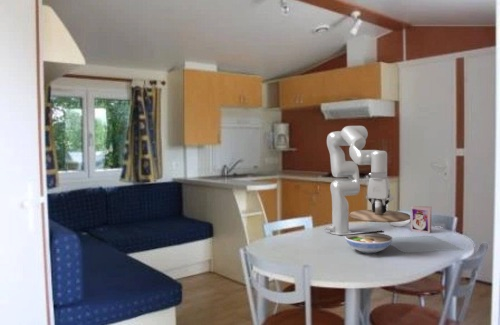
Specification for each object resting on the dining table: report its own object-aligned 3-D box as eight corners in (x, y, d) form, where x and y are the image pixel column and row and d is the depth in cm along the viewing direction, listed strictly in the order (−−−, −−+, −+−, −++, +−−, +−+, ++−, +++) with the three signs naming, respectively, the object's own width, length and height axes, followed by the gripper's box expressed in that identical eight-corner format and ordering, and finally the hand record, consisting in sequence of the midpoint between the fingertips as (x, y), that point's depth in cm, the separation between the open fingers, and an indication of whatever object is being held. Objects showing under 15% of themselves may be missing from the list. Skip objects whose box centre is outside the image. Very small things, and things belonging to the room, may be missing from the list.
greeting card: (410, 231, 256) (410, 206, 255) (416, 229, 261) (416, 204, 260) (429, 234, 248) (429, 208, 247) (434, 232, 253) (435, 206, 252)
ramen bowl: (357, 260, 198) (357, 242, 198) (334, 248, 220) (334, 232, 220) (404, 255, 205) (404, 238, 204) (378, 244, 227) (378, 229, 226)
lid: (361, 223, 198) (361, 205, 198) (341, 212, 227) (341, 196, 226) (421, 221, 201) (421, 203, 201) (394, 210, 230) (394, 194, 230)
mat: (403, 253, 208) (403, 252, 208) (378, 238, 239) (378, 237, 239) (464, 250, 211) (464, 249, 211) (432, 236, 242) (432, 235, 242)
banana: (410, 229, 262) (410, 205, 261) (381, 225, 275) (381, 202, 275) (413, 227, 266) (413, 204, 265) (384, 224, 279) (384, 201, 278)
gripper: (359, 175, 215) (360, 211, 216) (393, 177, 205) (392, 215, 206) (366, 174, 221) (366, 209, 222) (398, 175, 211) (398, 212, 212)
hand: (379, 212), depth 214 cm, fingers closed on lid, 4 cm apart
